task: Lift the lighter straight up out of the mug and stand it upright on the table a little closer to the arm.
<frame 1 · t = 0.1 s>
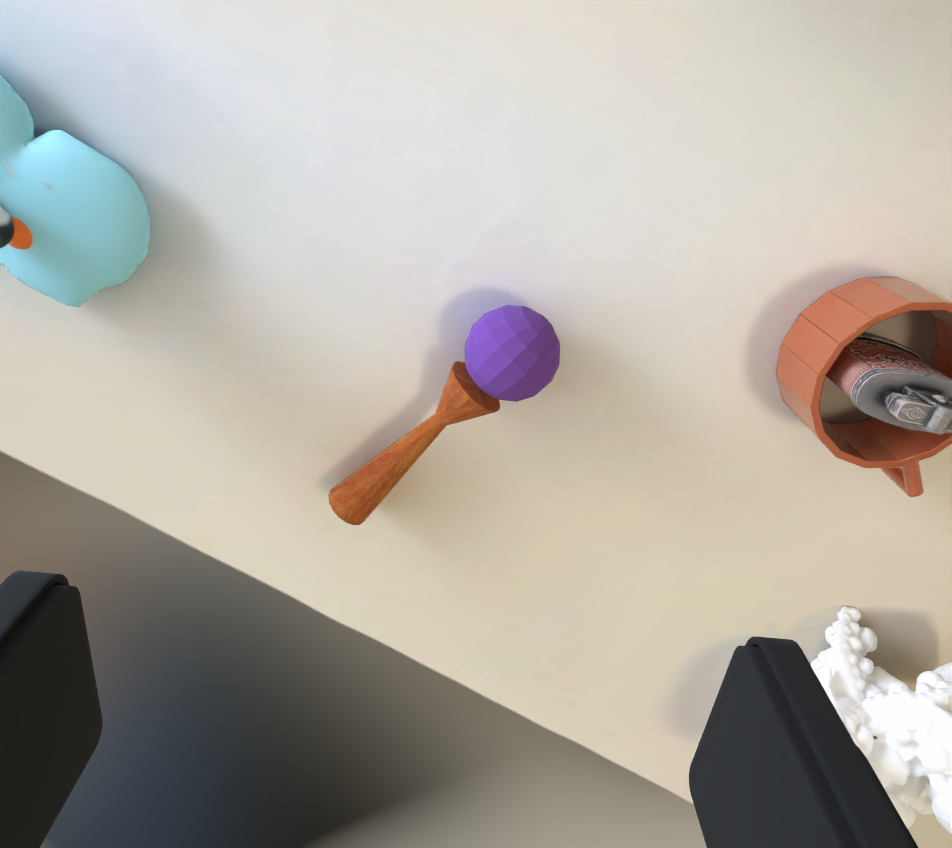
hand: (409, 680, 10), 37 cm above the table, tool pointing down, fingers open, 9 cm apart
mug: (859, 357, 47), on the table
lighter: (858, 356, 47), resting in mug
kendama: (439, 405, 49), on the table
cauliflower: (843, 683, 61), on the table
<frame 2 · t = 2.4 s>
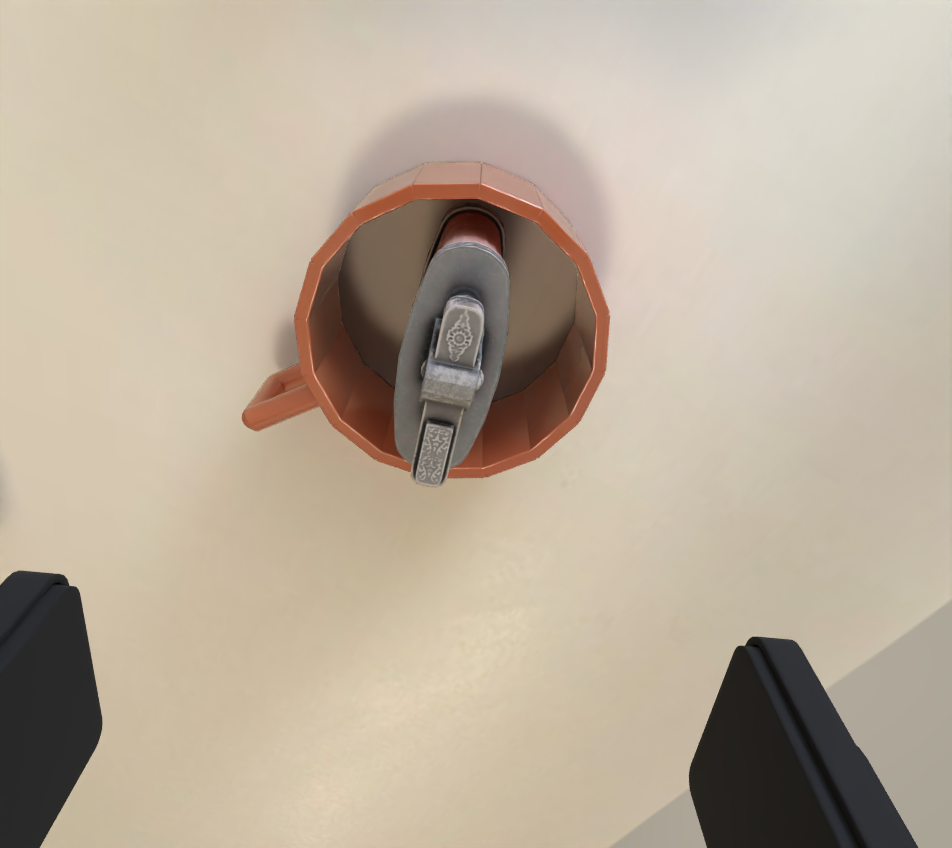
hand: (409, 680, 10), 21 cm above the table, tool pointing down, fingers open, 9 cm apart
mug: (457, 299, 29), on the table
lighter: (457, 298, 30), resting in mug
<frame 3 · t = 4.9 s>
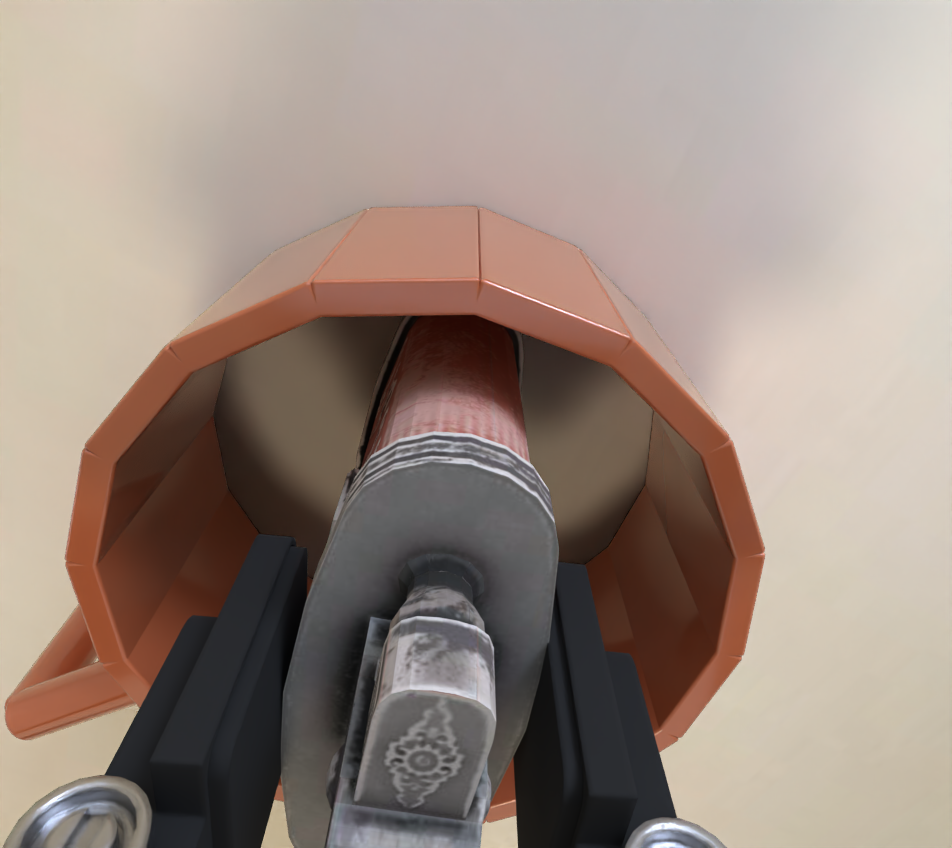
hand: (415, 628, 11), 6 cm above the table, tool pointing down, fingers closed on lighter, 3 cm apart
mug: (434, 449, 16), on the table
lighter: (434, 445, 16), resting in mug, touching gripper
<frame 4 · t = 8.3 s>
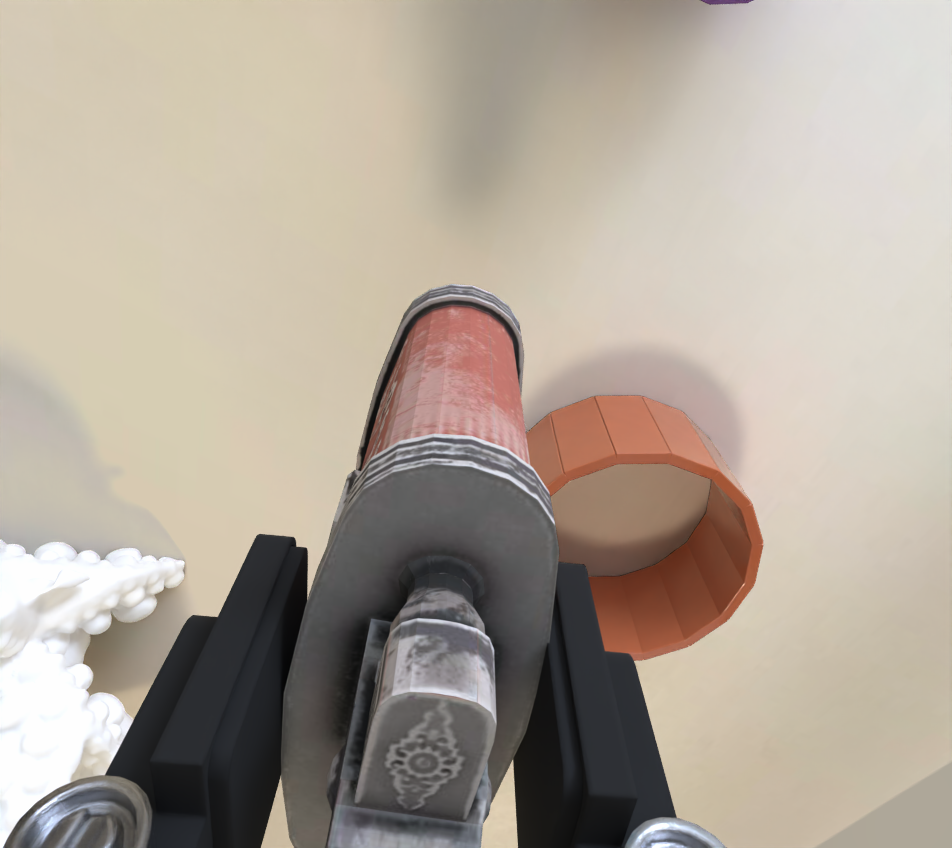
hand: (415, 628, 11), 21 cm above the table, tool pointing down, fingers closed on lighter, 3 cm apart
mug: (608, 496, 34), on the table
lighter: (435, 446, 16), point 15 cm above the table, touching gripper
cauliflower: (23, 592, 37), on the table
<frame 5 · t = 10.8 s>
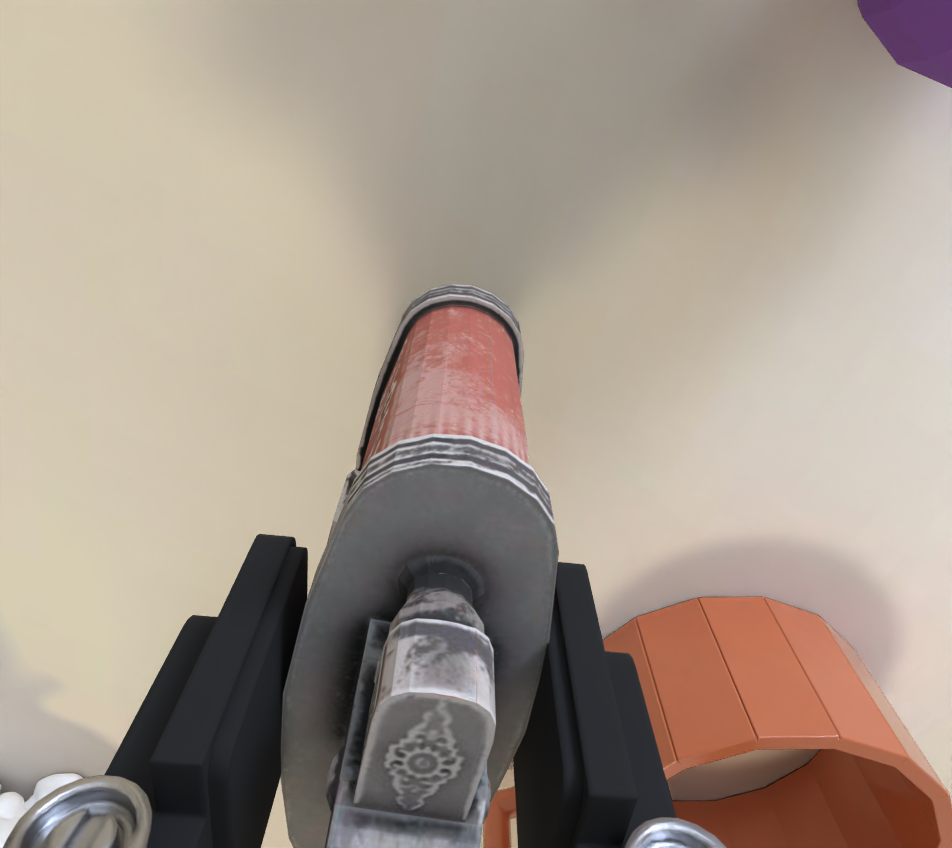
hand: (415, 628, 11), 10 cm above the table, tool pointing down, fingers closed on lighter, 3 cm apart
mug: (707, 712, 26), on the table
lighter: (434, 446, 16), point 4 cm above the table, touching gripper
when the fingers open (6 cm above the table, at t = 12.1 s): lighter stays where it is, on the table.
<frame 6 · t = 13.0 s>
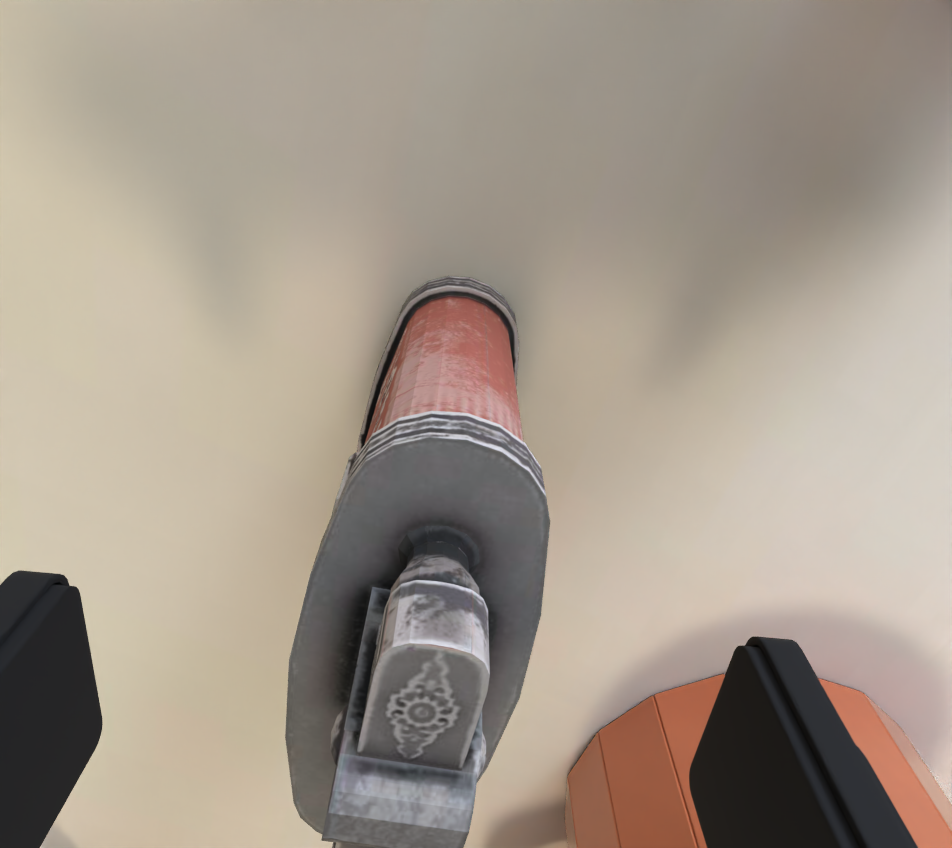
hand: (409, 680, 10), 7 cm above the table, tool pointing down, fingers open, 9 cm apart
mug: (733, 794, 23), on the table
lighter: (433, 434, 17), on the table
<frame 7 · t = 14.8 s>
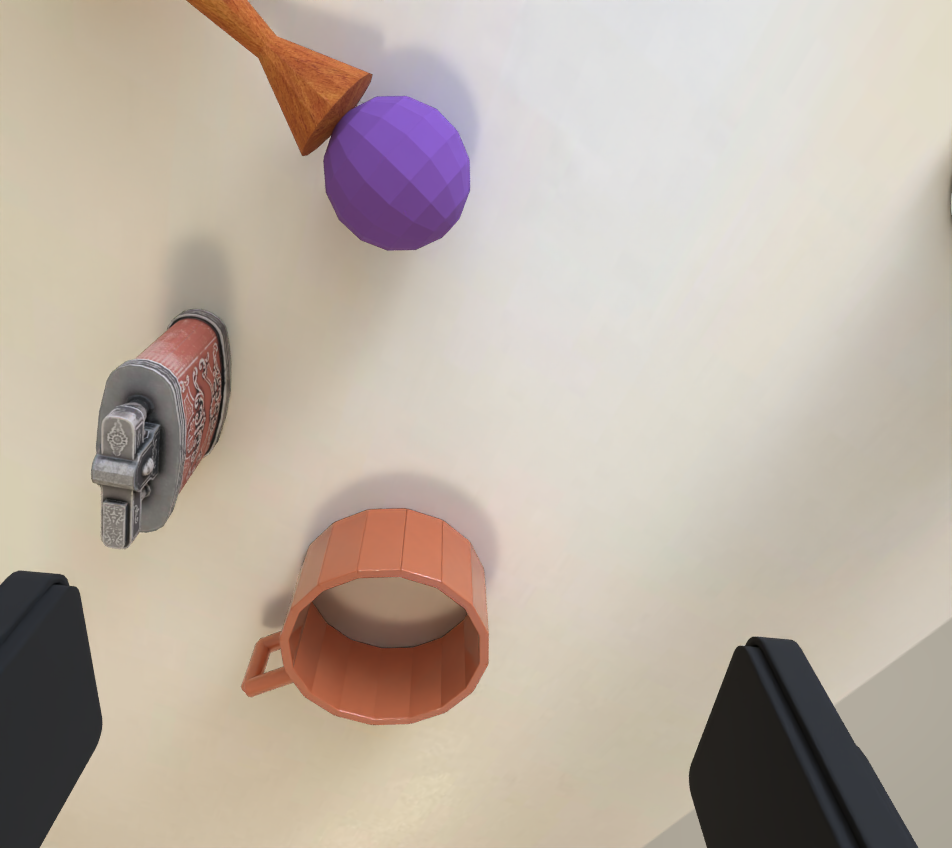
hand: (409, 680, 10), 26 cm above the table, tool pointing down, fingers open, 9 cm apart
mug: (393, 585, 42), on the table
lighter: (198, 382, 36), on the table
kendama: (276, 43, 29), on the table
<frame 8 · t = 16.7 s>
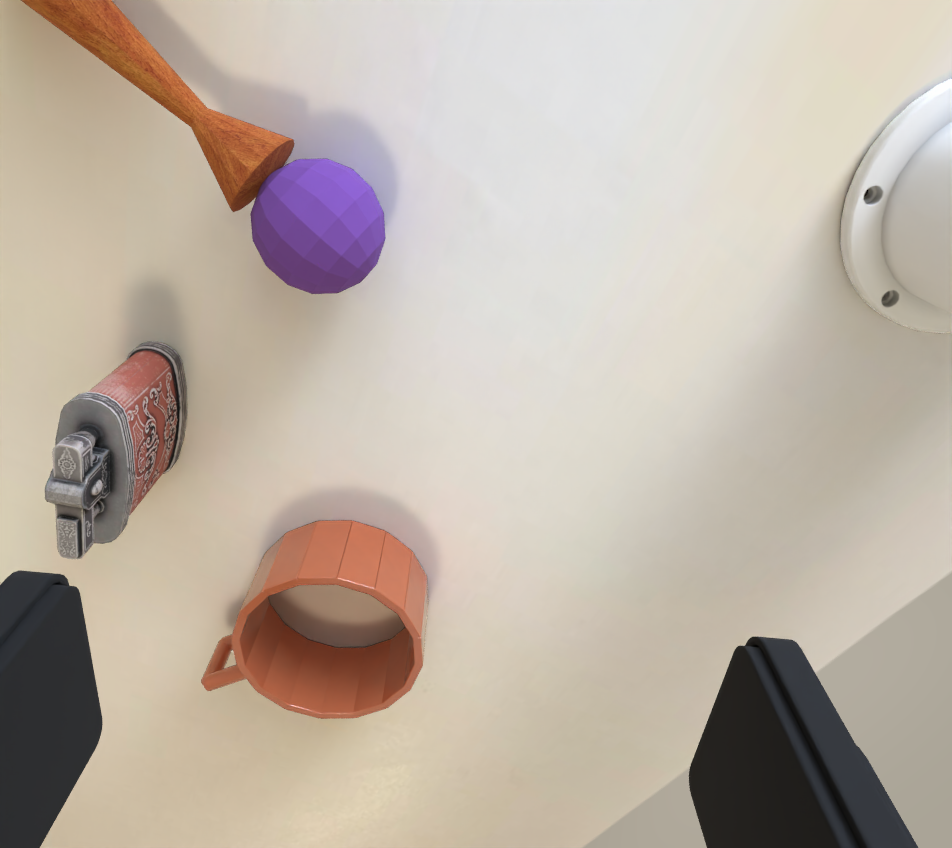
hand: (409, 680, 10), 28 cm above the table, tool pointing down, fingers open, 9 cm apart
mug: (343, 590, 45), on the table
lighter: (158, 405, 40), on the table
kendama: (213, 109, 33), on the table
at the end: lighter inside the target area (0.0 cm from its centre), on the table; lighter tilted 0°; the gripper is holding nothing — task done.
